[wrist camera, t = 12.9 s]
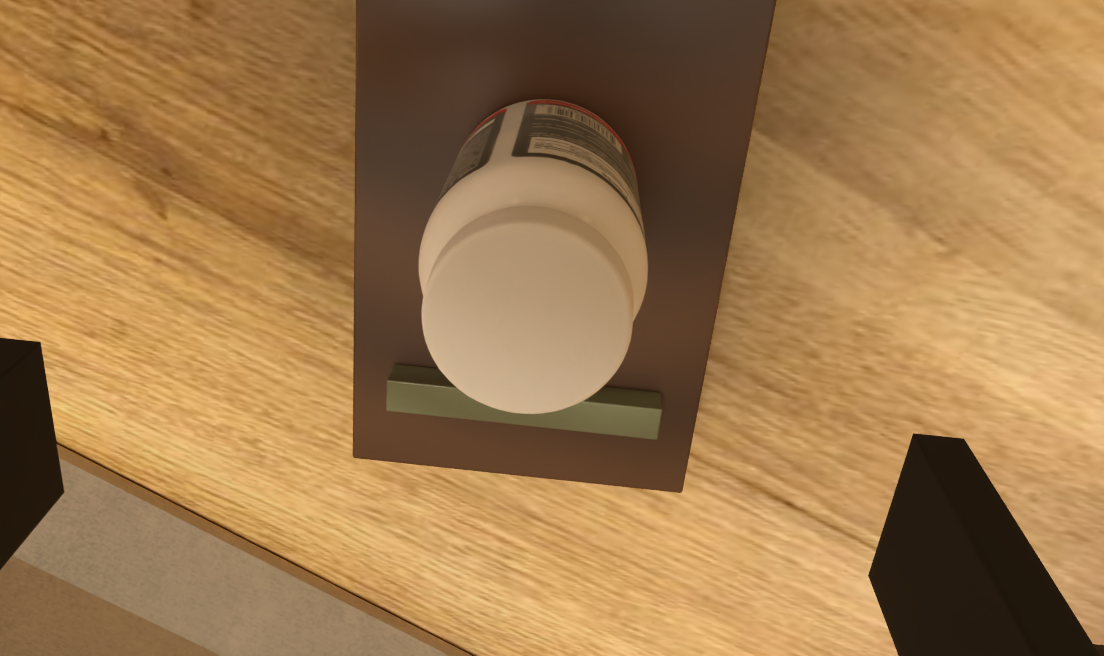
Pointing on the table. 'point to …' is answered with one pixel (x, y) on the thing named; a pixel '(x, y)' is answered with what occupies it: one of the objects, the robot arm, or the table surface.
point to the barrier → (174, 586)
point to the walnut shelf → (664, 192)
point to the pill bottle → (534, 259)
